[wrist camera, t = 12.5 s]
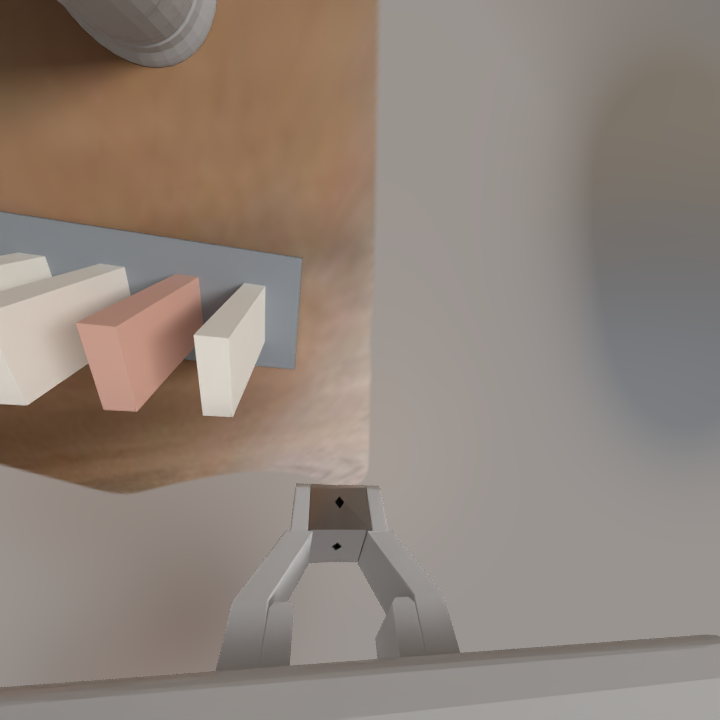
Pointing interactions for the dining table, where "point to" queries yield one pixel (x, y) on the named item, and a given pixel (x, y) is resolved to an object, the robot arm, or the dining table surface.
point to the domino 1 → (22, 269)
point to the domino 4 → (230, 349)
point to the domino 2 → (51, 328)
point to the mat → (170, 269)
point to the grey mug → (146, 27)
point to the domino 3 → (141, 340)
